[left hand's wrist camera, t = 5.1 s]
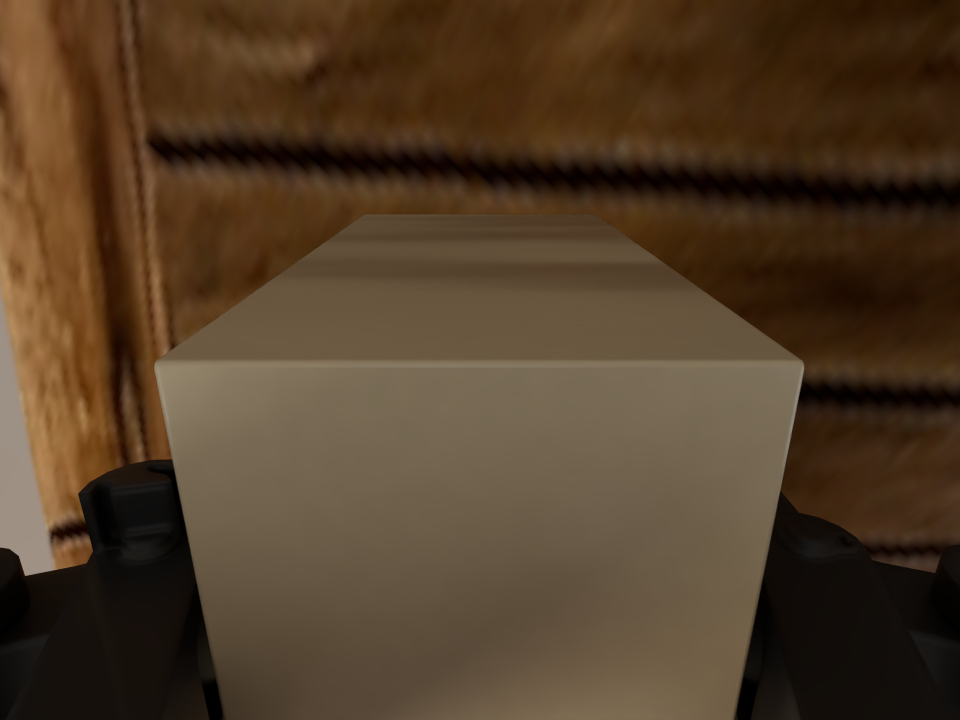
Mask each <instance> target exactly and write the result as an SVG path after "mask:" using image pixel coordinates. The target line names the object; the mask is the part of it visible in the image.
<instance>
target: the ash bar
mask: <svg viewBox="0 0 960 720" xmlns="http://www.w3.org/2000/svg"><path fill="white" fill-rule="evenodd" d="M154 369H155V374H156V379H157V384H158V389H159V394H160V399H161V404H162V409H163V414H164V419H165V424H166V429H167V434H168V439H169V444H170V450H171V455H172V460H173V465H174V470H175V475H176V480H177V485H178V490H179V495H180V500H181V505H182V510H183V515H184V520H185V525H186V530H187V535H188V540H189V545H190V550H191V555H192V560H193V565H194V571H195V576H196V581H197V586H198V591H199V596H200V601H201V606H202V611H203V616H204V621H205V626H206V631H207V636H208V641H209V646H210V651H211V656H212V661H213V666H214V671H215V676H216V681H217V686H218V691H219V697H220V702H221V707H222V712H223V717H224V720H735V717H736V712H737V706H738V701H739V696H740V691H741V686H742V681H743V676H744V671H745V666H746V661H747V656H748V651H749V646H750V641H751V636H752V631H753V626H754V620H755V615H756V610H757V605H758V600H759V595H760V590H761V585H762V580H763V575H764V570H765V565H766V560H767V555H768V550H769V545H770V540H771V534H772V529H773V524H774V519H775V514H776V509H777V504H778V499H779V494H780V489H781V484H782V479H783V474H784V469H785V464H786V459H787V454H788V448H789V443H790V438H791V433H792V428H793V423H794V418H795V413H796V408H797V403H798V398H799V393H800V388H801V383H802V378H803V373H804V363H803V361H802V360H800V359H799V358H798V357H796V356H795V355H793V354H792V353H791V352H789V351H788V350H786V349H785V348H783V347H782V346H781V345H779V344H778V343H776V342H775V341H774V340H772V339H771V338H769V337H768V336H766V335H765V334H764V333H762V332H761V331H759V330H758V329H757V328H755V327H754V326H752V325H751V324H749V323H748V322H747V321H745V320H744V319H742V318H741V317H740V316H738V315H737V314H735V313H734V312H733V311H731V310H730V309H728V308H727V307H725V306H724V305H723V304H721V303H720V302H718V301H717V300H716V299H714V298H713V297H711V296H710V295H708V294H707V293H706V292H704V291H703V290H701V289H700V288H699V287H697V286H696V285H694V284H693V283H691V282H690V281H689V280H687V279H686V278H684V277H683V276H682V275H680V274H679V273H677V272H676V271H674V270H673V269H672V268H670V267H669V266H667V265H666V264H665V263H663V262H662V261H660V260H659V259H657V258H656V257H655V256H653V255H652V254H650V253H649V252H648V251H646V250H645V249H643V248H642V247H640V246H639V245H638V244H636V243H635V242H633V241H632V240H631V239H629V238H628V237H626V236H625V235H624V234H622V233H621V232H619V231H618V230H616V229H615V228H614V227H612V226H611V225H609V224H608V223H607V222H605V221H604V220H602V219H601V218H599V217H598V216H597V215H363V216H362V217H360V218H359V219H358V220H356V221H355V222H353V223H352V224H350V225H349V226H348V227H346V228H345V229H343V230H342V231H341V232H339V233H338V234H336V235H335V236H333V237H332V238H331V239H329V240H328V241H326V242H325V243H323V244H322V245H321V246H319V247H318V248H316V249H315V250H313V251H312V252H311V253H309V254H308V255H306V256H305V257H303V258H302V259H301V260H299V261H298V262H296V263H295V264H293V265H292V266H291V267H289V268H288V269H286V270H285V271H284V272H282V273H281V274H279V275H278V276H276V277H275V278H274V279H272V280H271V281H269V282H268V283H266V284H265V285H264V286H262V287H261V288H259V289H258V290H256V291H255V292H254V293H252V294H251V295H249V296H248V297H246V298H245V299H244V300H242V301H241V302H239V303H238V304H236V305H235V306H234V307H232V308H231V309H229V310H228V311H226V312H225V313H224V314H222V315H221V316H219V317H218V318H217V319H215V320H214V321H212V322H211V323H209V324H208V325H207V326H205V327H204V328H202V329H201V330H199V331H198V332H197V333H195V334H194V335H192V336H191V337H189V338H188V339H187V340H185V341H184V342H182V343H181V344H179V345H178V346H177V347H175V348H174V349H172V350H171V351H169V352H168V353H167V354H165V355H164V356H162V357H161V358H159V359H158V360H157V361H156V362H155V367H154Z"/></svg>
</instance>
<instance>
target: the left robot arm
mask: <svg viewBox="0 0 960 720" xmlns="http://www.w3.org/2000/svg"><path fill="white" fill-rule="evenodd" d="M78 495H79V499H80V503H81V507H82V510H83V514H84V518H85V522H86V525H87V529H88V533H89V537H90V540H91V544H92V548H93V552H92V554H91V556H90V558H89V560H88V562H87V563H86V564H82V565H78V566H74V567H69V568H64V569H59V570H53V571H48V572H43V573H38V574H33V575H28V576H25V574H24V571H23V568H22V565H21V562H20V559H19V556H18V555H17V554H15V553H14V552H13V551H11V550H10V549H6V548H0V720H224V717H223V712H222V707H221V702H220V697H219V691H218V686H217V681H216V676H215V671H214V666H213V661H212V656H211V651H210V646H209V641H208V636H207V631H206V626H205V621H204V616H203V611H202V606H201V601H200V596H199V591H198V586H197V581H196V576H195V571H194V565H193V560H192V555H191V550H190V545H189V540H188V535H187V530H186V525H185V520H184V515H183V510H182V505H181V500H180V495H179V490H178V485H177V480H176V475H175V470H174V465H173V460H172V459H171V460H149V461H144V462H139V463H134V464H129V465H126V466H123V467H121V468H118V469H115V470H112V471H109V472H107V473H105V474H103V475H102V476H100V477H98V478H96V479H95V480H93V481H91V482H89V483H88V484H87V485H86V486H85V487H84V488H83V489H82V490H81V491H80V492H79V493H78ZM735 720H960V545H954V546H950V547H949V548H948V549H946V550H945V551H944V552H943V553H942V554H941V557H940V560H939V563H938V566H937V570H936V573H931V572H926V571H921V570H916V569H911V568H906V567H901V566H896V565H890V564H885V563H881V562H877V561H873V560H872V559H871V557H870V555H869V553H868V551H867V550H866V549H865V547H864V546H863V545H862V544H861V543H860V541H859V540H858V539H857V538H856V537H855V536H853V535H852V534H850V533H849V532H847V531H846V530H844V529H843V528H841V527H840V526H838V525H836V524H833V523H831V522H828V521H826V520H824V519H821V518H819V517H815V516H810V515H806V514H802V513H799V512H798V511H797V510H796V509H795V508H794V507H793V505H792V504H791V503H790V502H789V501H788V499H787V498H786V497H785V496H784V495H783V493H782V492H781V491H780V494H779V499H778V504H777V509H776V514H775V519H774V524H773V529H772V534H771V540H770V545H769V550H768V555H767V560H766V565H765V570H764V575H763V580H762V585H761V590H760V595H759V600H758V605H757V610H756V615H755V620H754V626H753V631H752V636H751V641H750V646H749V651H748V656H747V661H746V666H745V671H744V676H743V681H742V686H741V691H740V696H739V701H738V706H737V712H736V717H735Z"/></svg>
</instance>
